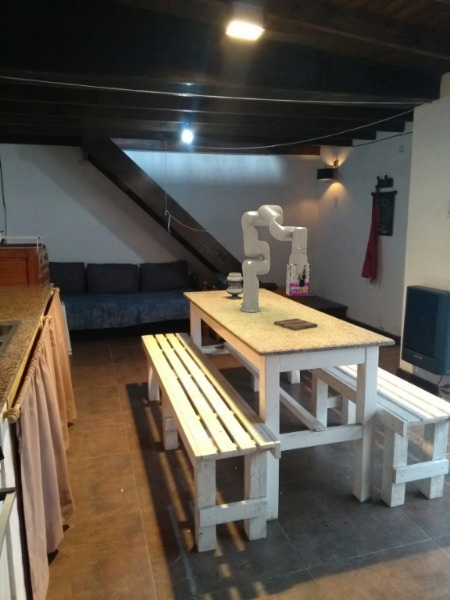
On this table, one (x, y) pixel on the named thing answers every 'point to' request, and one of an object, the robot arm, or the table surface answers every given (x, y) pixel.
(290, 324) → the walnut board
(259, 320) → the table surface
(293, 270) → the candy bar box
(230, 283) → the apothecary jar
